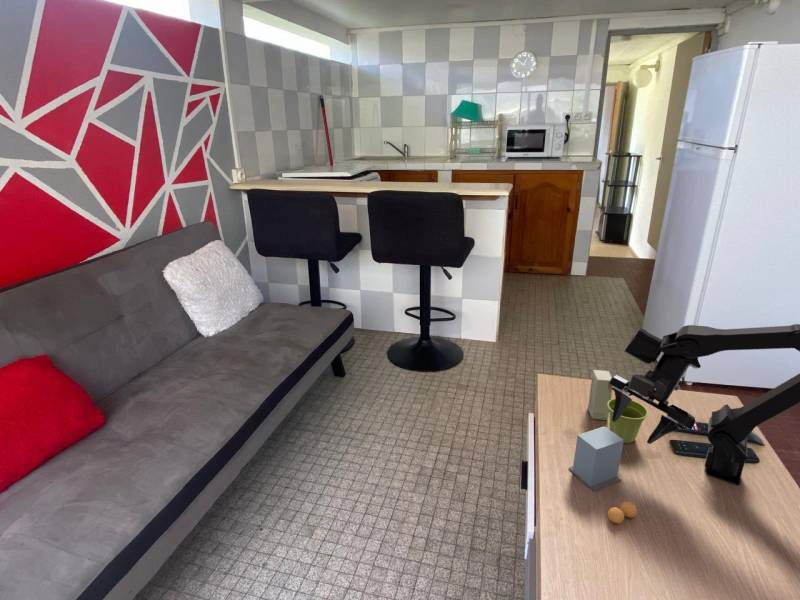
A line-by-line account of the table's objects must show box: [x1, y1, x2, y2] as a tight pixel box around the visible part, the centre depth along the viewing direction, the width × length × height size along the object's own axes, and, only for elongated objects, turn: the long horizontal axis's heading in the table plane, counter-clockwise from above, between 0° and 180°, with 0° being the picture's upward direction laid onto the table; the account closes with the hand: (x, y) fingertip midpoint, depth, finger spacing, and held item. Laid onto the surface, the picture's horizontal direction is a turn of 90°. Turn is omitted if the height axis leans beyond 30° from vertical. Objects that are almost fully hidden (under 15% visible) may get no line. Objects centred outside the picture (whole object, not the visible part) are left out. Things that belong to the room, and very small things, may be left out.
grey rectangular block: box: [572, 426, 625, 488], centre depth 105 cm, size 8×6×10 cm
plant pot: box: [607, 398, 649, 444], centre depth 119 cm, size 9×9×9 cm
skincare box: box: [587, 369, 614, 421], centre depth 128 cm, size 6×4×12 cm
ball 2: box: [620, 501, 638, 519], centre depth 96 cm, size 3×3×3 cm
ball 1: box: [607, 506, 625, 524], centre depth 94 cm, size 3×3×3 cm
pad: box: [568, 465, 622, 492], centre depth 107 cm, size 8×8×1 cm
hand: (630, 431), depth 107 cm, fingers open, 9 cm apart
